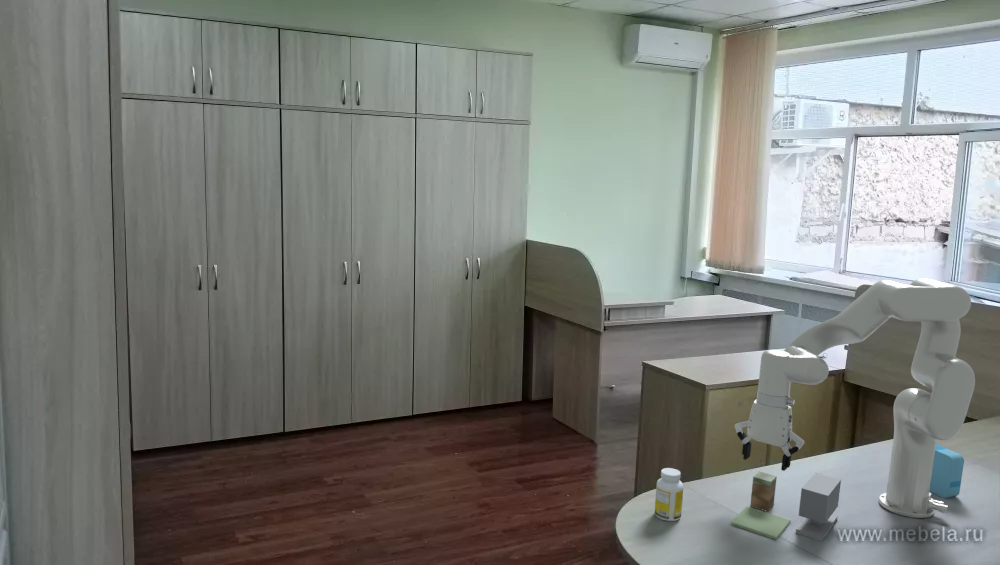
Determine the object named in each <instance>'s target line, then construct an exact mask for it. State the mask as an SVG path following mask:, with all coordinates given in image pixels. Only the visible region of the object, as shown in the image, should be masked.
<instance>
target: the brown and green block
mask: <svg viewBox="0 0 1000 565" xmlns="http://www.w3.org/2000/svg"><path fill="white" fill-rule="evenodd" d="M751 485H752V486H751V495H750V507H752V506H753V507H752V508H755V507H756V508H755V509H758V508H760V509H759V510H762V509H763V510H762V511H765V510H766V511H765V512H769V511H770V510H771V509H772V508H773V507H774V506H773V505H775V496H776V488H777V487H776V486H777V475H773V474H769V473H766V472H763V471H758V472H757V473H756V474H755V475H753V476H752V484H751Z"/></svg>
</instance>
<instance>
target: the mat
mask: <svg viewBox="0 0 1000 565" xmlns="http://www.w3.org/2000/svg"><path fill="white" fill-rule="evenodd" d="M791 522H792V520H791V519H788V518H785V517H783V516H782V517H781V516H778V515H776V514H772V513H770V512H767V511H764V510H761V509H758V508H754V507H751V506H750V507H749V506H745V507H744V508H743V509H742V510H741V511H740V512H739V513H738V514H737V515H736V516H735V517H734V518H733V519H732V520H731V521H730V525H732V526H734V527H738V528H741V529H744V530H747V531H750V532H753V533H755V532H756V534H759V535H761V534H762V536H764V535H765V537H768V538H771V539H774V540H777V539H779V537H781V535H782V533H783V532H784V531H785V530H786V529H787V528H788V526H789V525H790V524H791ZM785 528H786V529H785Z"/></svg>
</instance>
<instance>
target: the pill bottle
mask: <svg viewBox="0 0 1000 565" xmlns="http://www.w3.org/2000/svg"><path fill="white" fill-rule="evenodd" d="M681 474H682V473H681V471H680V470H679V469H675V468H671V467H665V468H662V469H661V471H660V477H661V478H659V479H657V481H656V485H655V486H656V488H655V500H654V515H655V516H656V517H657V518H659V520H663V521H667V522H675V521H678V520H680V519H681V517H682V514H683V513H682V510H683V498H684V497H683V496H684V484H683V482H682V481H681V480H680V479H681V477H682V476H681Z"/></svg>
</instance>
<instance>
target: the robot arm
mask: <svg viewBox="0 0 1000 565" xmlns="http://www.w3.org/2000/svg"><path fill="white" fill-rule="evenodd" d="M971 306H972V299H971V296H970V294H969V292H968V291H966V290H965V289H964V288H962V287H961V286H958V285H955V284H951V283H947V282H943V281H940V280H937V279H933V278H923V277H922V278H917V279H915V280H913V281H912V282H911V283H910V284H905V283H901V282H898V281H894V280H890V279H882V280H879V281H876V282H874V283H873V285H871V286H870V287H868V288H867V290H865V291H864V292H863V293H861V295H859V296H858V297H857V298H856V299H855V300H853V301H852V302H851V303H850V304H849V305H848V306H847V307H846V308H845V309H844V310H842V311H841V312H840V313H839V314H837V315H836V316H834V317H832V318H830V319H827V320H825V321H823V322H821V323H818V324H816V325H814V326H812V327H810V328H808V329H806V330H805V331H804V332H802V333H801V334H800V335H798V336H797V337H796V338H795V339H794V340H792V341H791V343H789V344H788V345H787V346H786V347H785V349H784V350H779V349H767V350H765V351H763V352H762V354H761V357H760V367H759V376H758V377H759V378H758V383H757V384H758V385H757V393H756V399H755V400H753V403H752V406H751V409H750V413H749V416H748V420H745V421H741V422H740V421H739V422H737V423H735V424H734V429H735V431H736V433H737V434H736V435H737V437H738V438H739V439H740V441H741V444H742V451H741V455H743V458H742V459H743V460H745V461H746V460H748V459H749V458H750V457H751V450H752V442H751V440H753V441H757V442H760V443H764V444H767V445H771V446H774V447H780V448H781V449H782V451H783V453H784V454H782V461H781V468H780V469H781V471H783V472H784V471H786V470H787V469H789V468H790V466H791V461H792V455H794V454H795V453H797V452H798V451H799V450H800V449H801V448H802V447H803V445H805V440H804V439H803V438H801V437H800V436H799V435H797V434H796V433H795V432H794V431H793V411H792V406H794V405H795V403H796V402H795V399H793V398H791V394H790V393H791V384H792V383H798V384H804V385H815V386H816V385H819V384H822V383H824V381H825V380H826V379H827V378H828V375H829V371H830V369H829V366H828V363H827V361H825V359H823V358H822V357H821V356H819V355H821V354H822V353H823V352H825V351H827V350H829V349H831V348H834V347H837V346H843V345H852V344H857V343H862V342H864V341H865V340H867V339H868V338H869V337H870V336H871V335H872V334H874V332H876V331H877V330H878V329H879V328H880V327H881V326H882V325H883V324H884V323H886V322H888V321H889V319H891V318H893V319H897V320H899V321H904V322H919V323H920V322H921V323H920V324H921V329H920V335H919V339H918V342H917V346H916V348H915V349H916V350H915V351H914V355H913V359H912V363H911V367H910V373H911V376H912V378H913V380H915V381H916V382H918V383H919V384H921V385H923V386H924V387H927V388H928V389H931V392H929V391H927V390H924V389H922V388H915V387H910V388H906V389H904V390H902V391H901V392H899V393H898V394H897V395H896V398H895V399H894V403H893V425H894V426H893V428H894V429H893V430H894V431H893V441H892V447H891V448H892V449H891V455H890V463H889V471H888V476H887V477H888V478H887V485H886V492H884V493H882V494H881V493H880V495H879V496H878V503H879V504H880V505H881V506H882V507H883V508H885V509H886V510H887V511H889V512H892V513H894V514H897V515H900V516H904V517H907V518H914V519H924V518H929V517H933V515H934V512H935V511H938V512H940V513H944V514H947V513H948V510H949V506H948V505H946V504H944V501H941V500H936V499H934V498H932V492H930V491H929V489H930V482H931V475H932V468H933V461H934V455H935V448H936V441H947V440H950V439H952V438H954V437H956V436H957V435H958V433H959V432H960V431H961V429H962V427H963V425H964V422H965V420H966V416H967V414H968V411H969V406H970V404H971V400H972V397H973V394H974V391H975V386H976V376H975V372H974V370H973V368H972V367H971V366H970V364H969V363H967V361H965V360H963V359H960V358H958V357H957V352H958V347H959V342H960V339H961V332H962V331H961V330H962V329H961V322H960V319H962V318H963V317H965V316H966V315H967V314H968V312H969V311H970V309H971ZM790 405H792V406H790ZM746 427H747V428H746ZM743 428H746V433H745V432H744V431H743ZM791 441H794V442H795V445H794V446H793V447H792V446H791V444H790V443H791Z"/></svg>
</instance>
